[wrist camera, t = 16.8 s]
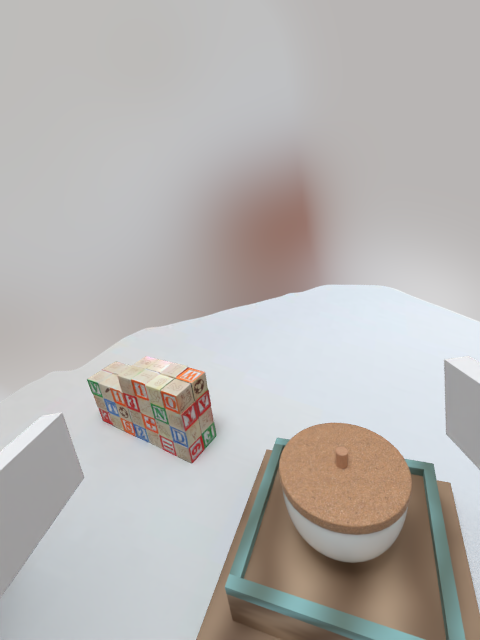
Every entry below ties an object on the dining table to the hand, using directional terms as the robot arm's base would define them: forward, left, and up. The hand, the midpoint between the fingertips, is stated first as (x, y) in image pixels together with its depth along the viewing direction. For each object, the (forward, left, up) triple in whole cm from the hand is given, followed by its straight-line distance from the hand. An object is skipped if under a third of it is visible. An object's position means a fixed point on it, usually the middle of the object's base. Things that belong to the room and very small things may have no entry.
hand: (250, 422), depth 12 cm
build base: (+2, +14, -30) cm, 33 cm away
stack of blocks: (-29, +27, -30) cm, 50 cm away
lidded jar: (+2, +14, -24) cm, 27 cm away
